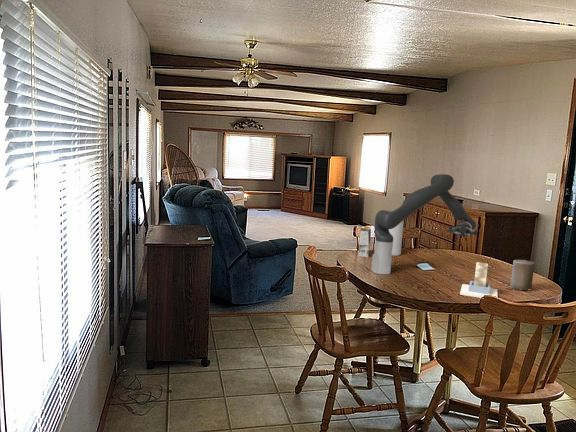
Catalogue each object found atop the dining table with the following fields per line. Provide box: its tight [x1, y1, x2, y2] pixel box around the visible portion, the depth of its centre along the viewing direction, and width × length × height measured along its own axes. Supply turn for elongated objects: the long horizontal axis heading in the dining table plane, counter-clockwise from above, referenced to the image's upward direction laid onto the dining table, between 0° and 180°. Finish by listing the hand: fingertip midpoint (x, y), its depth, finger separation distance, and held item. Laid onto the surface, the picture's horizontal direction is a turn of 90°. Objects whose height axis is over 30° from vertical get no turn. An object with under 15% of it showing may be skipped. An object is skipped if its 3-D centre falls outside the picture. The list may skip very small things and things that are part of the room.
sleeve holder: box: [459, 280, 498, 299], centre depth 227 cm, size 16×16×4 cm
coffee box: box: [358, 228, 372, 258], centre depth 295 cm, size 9×6×16 cm
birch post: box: [473, 261, 489, 287], centre depth 227 cm, size 5×5×13 cm
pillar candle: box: [509, 259, 535, 291], centre depth 239 cm, size 10×10×15 cm
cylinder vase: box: [389, 219, 405, 257], centre depth 303 cm, size 12×12×25 cm
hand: (461, 232), depth 247 cm, fingers open, 8 cm apart
